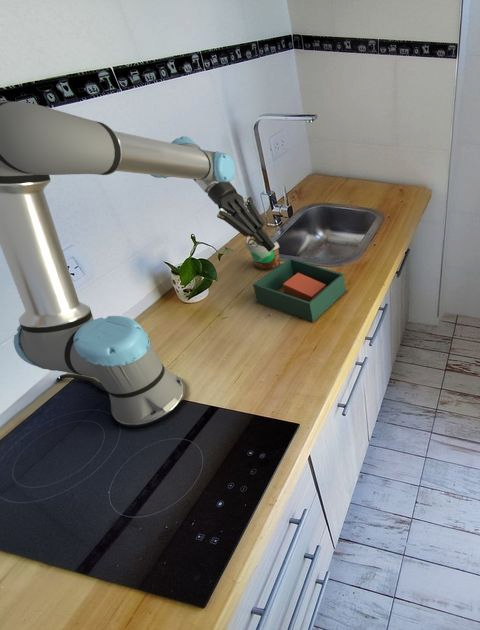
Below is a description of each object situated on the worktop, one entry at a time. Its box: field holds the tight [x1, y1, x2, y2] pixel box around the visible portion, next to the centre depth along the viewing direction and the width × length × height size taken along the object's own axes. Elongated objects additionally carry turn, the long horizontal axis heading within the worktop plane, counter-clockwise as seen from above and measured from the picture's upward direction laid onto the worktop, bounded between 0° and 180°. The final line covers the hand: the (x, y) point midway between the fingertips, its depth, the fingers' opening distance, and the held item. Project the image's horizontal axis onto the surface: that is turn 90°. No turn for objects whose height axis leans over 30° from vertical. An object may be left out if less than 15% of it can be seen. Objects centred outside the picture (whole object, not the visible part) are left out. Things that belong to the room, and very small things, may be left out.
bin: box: [252, 257, 347, 323], centre depth 128 cm, size 22×18×7 cm
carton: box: [282, 273, 326, 302], centre depth 128 cm, size 5×8×11 cm
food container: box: [245, 236, 281, 271], centre depth 141 cm, size 12×6×10 cm, turn 73°
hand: (272, 248), depth 123 cm, fingers closed
